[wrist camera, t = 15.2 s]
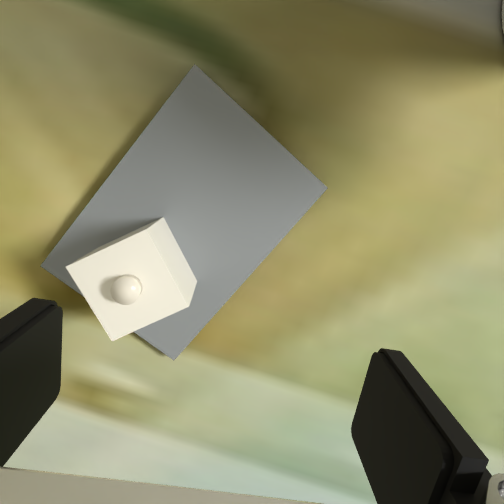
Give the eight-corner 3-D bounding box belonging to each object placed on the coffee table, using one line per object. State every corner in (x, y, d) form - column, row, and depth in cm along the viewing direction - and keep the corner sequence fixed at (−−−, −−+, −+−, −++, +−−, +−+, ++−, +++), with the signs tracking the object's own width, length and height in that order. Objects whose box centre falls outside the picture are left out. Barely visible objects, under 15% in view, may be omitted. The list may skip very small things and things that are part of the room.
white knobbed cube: (97, 247, 31) (58, 270, 24) (163, 216, 30) (143, 231, 24) (133, 309, 32) (107, 347, 26) (197, 281, 32) (187, 312, 25)
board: (196, 68, 29) (194, 64, 28) (324, 187, 32) (327, 187, 31) (47, 262, 32) (40, 265, 31) (175, 353, 35) (174, 360, 34)
